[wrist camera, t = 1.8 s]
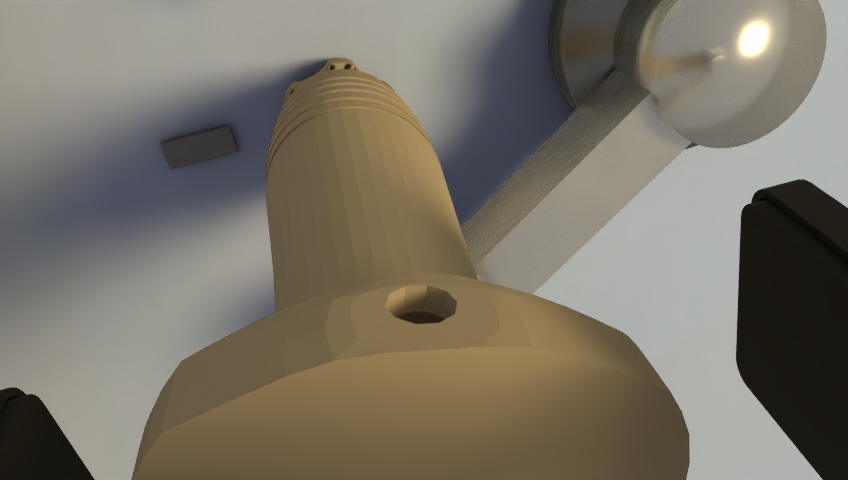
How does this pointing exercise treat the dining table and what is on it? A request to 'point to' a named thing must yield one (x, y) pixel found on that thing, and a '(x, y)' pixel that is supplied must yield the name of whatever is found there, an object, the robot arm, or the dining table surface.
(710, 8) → the crank
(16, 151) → the dining table surface
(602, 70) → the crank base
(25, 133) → the dining table surface
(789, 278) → the robot arm
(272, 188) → the handle
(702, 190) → the dining table surface
